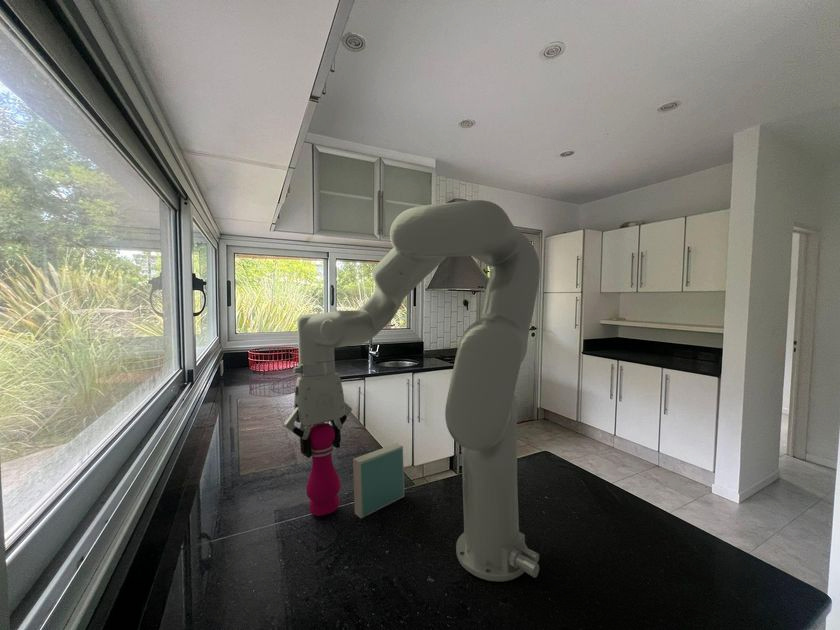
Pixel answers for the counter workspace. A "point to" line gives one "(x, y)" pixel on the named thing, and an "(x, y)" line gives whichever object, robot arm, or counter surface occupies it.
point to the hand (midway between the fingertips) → (321, 450)
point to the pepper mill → (322, 472)
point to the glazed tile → (378, 479)
